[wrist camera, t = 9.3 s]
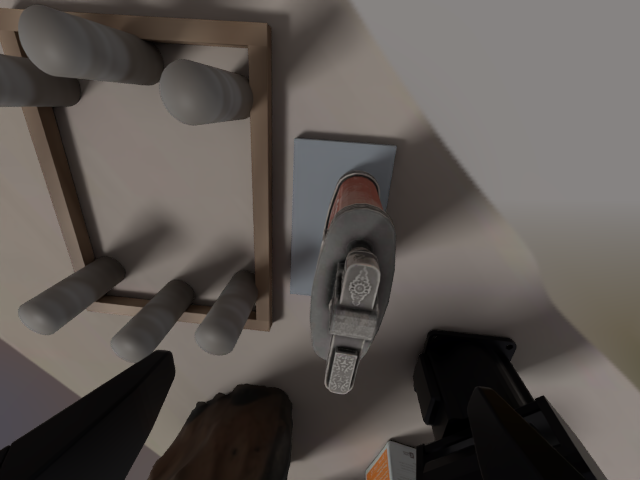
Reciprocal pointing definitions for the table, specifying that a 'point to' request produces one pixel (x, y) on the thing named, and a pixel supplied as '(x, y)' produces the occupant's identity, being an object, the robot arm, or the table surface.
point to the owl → (232, 438)
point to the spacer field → (184, 105)
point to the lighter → (351, 278)
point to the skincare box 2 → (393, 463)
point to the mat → (326, 194)
